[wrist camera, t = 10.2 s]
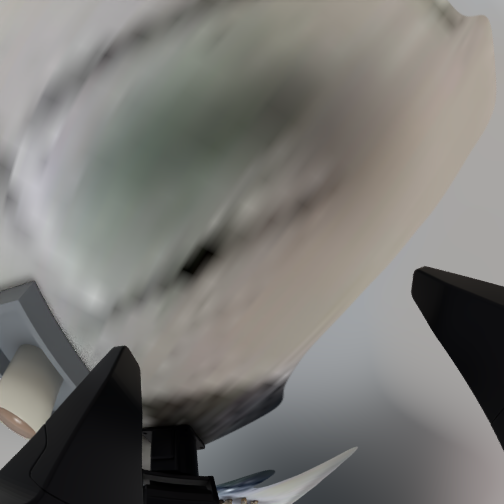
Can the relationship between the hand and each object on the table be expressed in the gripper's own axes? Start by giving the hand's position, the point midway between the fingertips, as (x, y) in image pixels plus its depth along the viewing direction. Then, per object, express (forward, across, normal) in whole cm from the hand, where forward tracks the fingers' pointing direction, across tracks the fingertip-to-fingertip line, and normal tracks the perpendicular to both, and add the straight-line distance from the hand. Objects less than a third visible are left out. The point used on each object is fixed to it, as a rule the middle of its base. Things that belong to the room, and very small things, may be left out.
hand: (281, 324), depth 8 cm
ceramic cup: (+11, +23, +10) cm, 28 cm away
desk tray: (+12, +24, +10) cm, 28 cm away
